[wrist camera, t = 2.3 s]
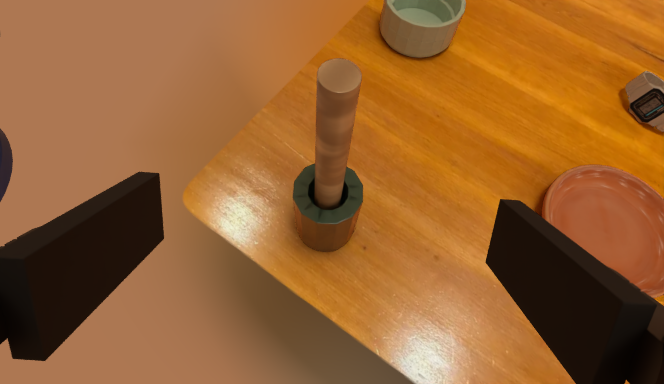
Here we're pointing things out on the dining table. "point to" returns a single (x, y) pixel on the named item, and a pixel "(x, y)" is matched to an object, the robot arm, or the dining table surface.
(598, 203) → the saucer
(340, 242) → the holder
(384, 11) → the bowl
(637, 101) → the wristwatch
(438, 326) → the dining table surface
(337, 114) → the stick
